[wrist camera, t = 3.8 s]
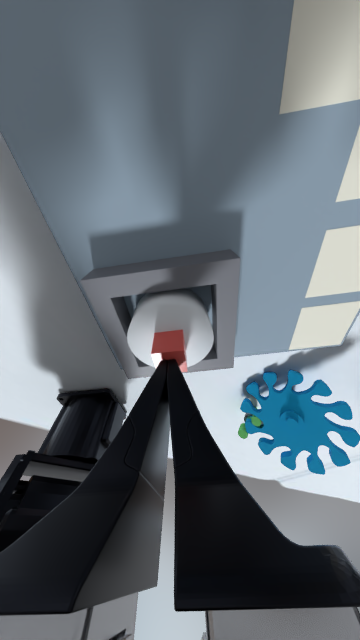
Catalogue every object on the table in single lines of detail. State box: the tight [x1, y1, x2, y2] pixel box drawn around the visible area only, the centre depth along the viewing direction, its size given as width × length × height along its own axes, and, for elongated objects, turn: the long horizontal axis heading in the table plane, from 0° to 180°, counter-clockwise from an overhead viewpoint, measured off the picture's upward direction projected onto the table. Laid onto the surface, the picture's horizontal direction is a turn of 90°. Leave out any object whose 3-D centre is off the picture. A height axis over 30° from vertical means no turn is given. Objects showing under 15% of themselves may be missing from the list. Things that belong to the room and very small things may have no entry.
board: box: [0, 0, 360, 379], centre depth 9 cm, size 21×24×3 cm
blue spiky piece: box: [238, 370, 360, 475], centre depth 20 cm, size 11×6×10 cm
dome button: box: [127, 288, 214, 372], centre depth 12 cm, size 6×6×4 cm
